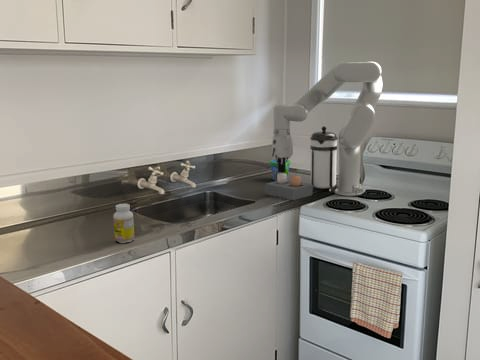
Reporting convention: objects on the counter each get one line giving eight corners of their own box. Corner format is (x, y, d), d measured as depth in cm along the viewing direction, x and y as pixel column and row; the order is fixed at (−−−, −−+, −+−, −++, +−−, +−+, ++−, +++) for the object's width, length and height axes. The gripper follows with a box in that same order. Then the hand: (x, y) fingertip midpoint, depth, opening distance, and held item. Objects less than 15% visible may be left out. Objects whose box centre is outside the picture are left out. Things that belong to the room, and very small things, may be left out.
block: (312, 195, 247) (312, 184, 246) (293, 200, 239) (293, 189, 238) (284, 189, 259) (284, 179, 258) (265, 194, 251) (265, 183, 250)
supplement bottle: (111, 240, 188) (109, 204, 185) (129, 237, 192) (127, 201, 189) (120, 245, 182) (117, 208, 180) (138, 241, 186) (135, 205, 184)
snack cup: (266, 177, 287) (265, 158, 285) (285, 176, 290) (285, 157, 287) (274, 183, 272) (274, 163, 270) (294, 182, 275) (294, 162, 272)
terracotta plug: (302, 187, 245) (303, 176, 244) (296, 189, 242) (296, 178, 241) (295, 186, 248) (295, 175, 247) (289, 187, 245) (289, 176, 244)
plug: (288, 184, 251) (288, 174, 250) (282, 186, 248) (282, 175, 247) (281, 183, 254) (281, 173, 253) (275, 184, 251) (275, 174, 250)
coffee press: (346, 190, 256) (348, 126, 250) (317, 193, 250) (318, 128, 244) (327, 183, 272) (328, 123, 265) (299, 186, 266) (299, 125, 260)
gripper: (276, 134, 239) (276, 175, 242) (299, 131, 248) (298, 170, 252) (264, 133, 244) (264, 173, 248) (286, 130, 254) (286, 168, 258)
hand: (281, 171), depth 250 cm, fingers closed
